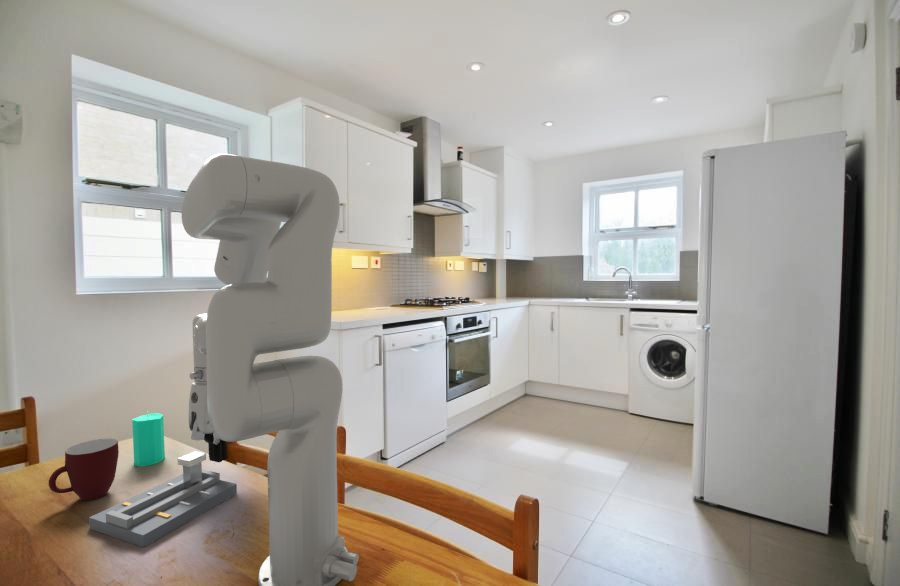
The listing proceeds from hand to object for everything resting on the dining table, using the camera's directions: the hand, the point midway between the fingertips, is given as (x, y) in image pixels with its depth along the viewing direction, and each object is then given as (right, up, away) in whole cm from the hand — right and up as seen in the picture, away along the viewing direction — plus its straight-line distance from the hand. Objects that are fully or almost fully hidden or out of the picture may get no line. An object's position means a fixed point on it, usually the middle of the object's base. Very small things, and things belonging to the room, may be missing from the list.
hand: (218, 459), depth 89 cm
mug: (-23, -6, -6) cm, 24 cm away
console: (-4, -6, -10) cm, 12 cm away
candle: (-22, -5, +12) cm, 26 cm away
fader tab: (-2, -3, -5) cm, 6 cm away
